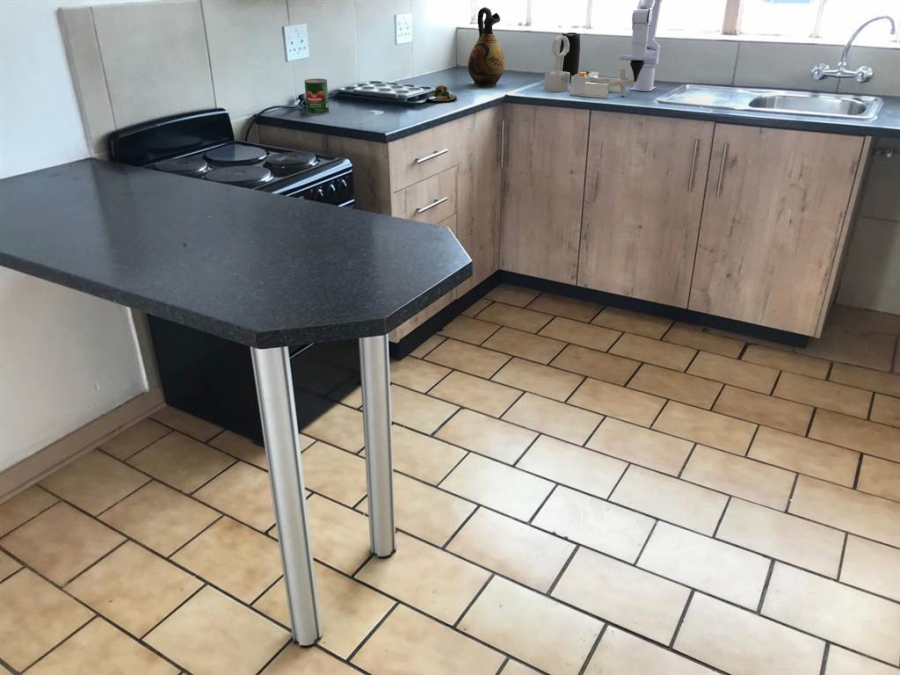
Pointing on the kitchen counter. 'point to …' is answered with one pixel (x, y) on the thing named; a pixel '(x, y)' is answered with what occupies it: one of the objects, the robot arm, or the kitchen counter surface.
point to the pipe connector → (622, 82)
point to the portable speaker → (571, 54)
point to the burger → (442, 94)
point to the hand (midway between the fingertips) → (635, 81)
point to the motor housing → (591, 85)
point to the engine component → (558, 69)
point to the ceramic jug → (486, 53)
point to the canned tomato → (316, 96)
